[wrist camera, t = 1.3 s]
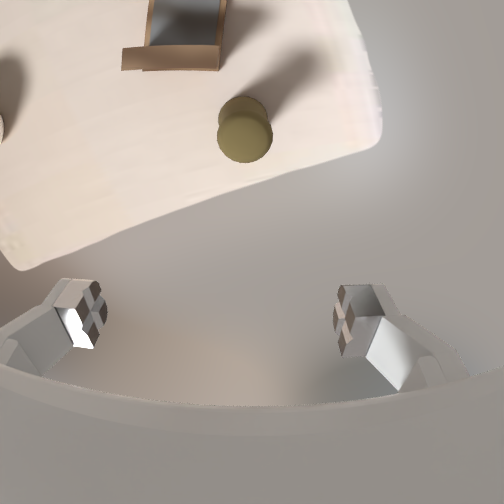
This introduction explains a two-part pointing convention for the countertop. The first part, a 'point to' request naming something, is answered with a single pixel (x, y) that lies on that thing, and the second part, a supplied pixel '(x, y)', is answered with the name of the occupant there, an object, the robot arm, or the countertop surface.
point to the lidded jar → (1, 129)
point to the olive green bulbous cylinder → (244, 130)
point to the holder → (179, 37)
